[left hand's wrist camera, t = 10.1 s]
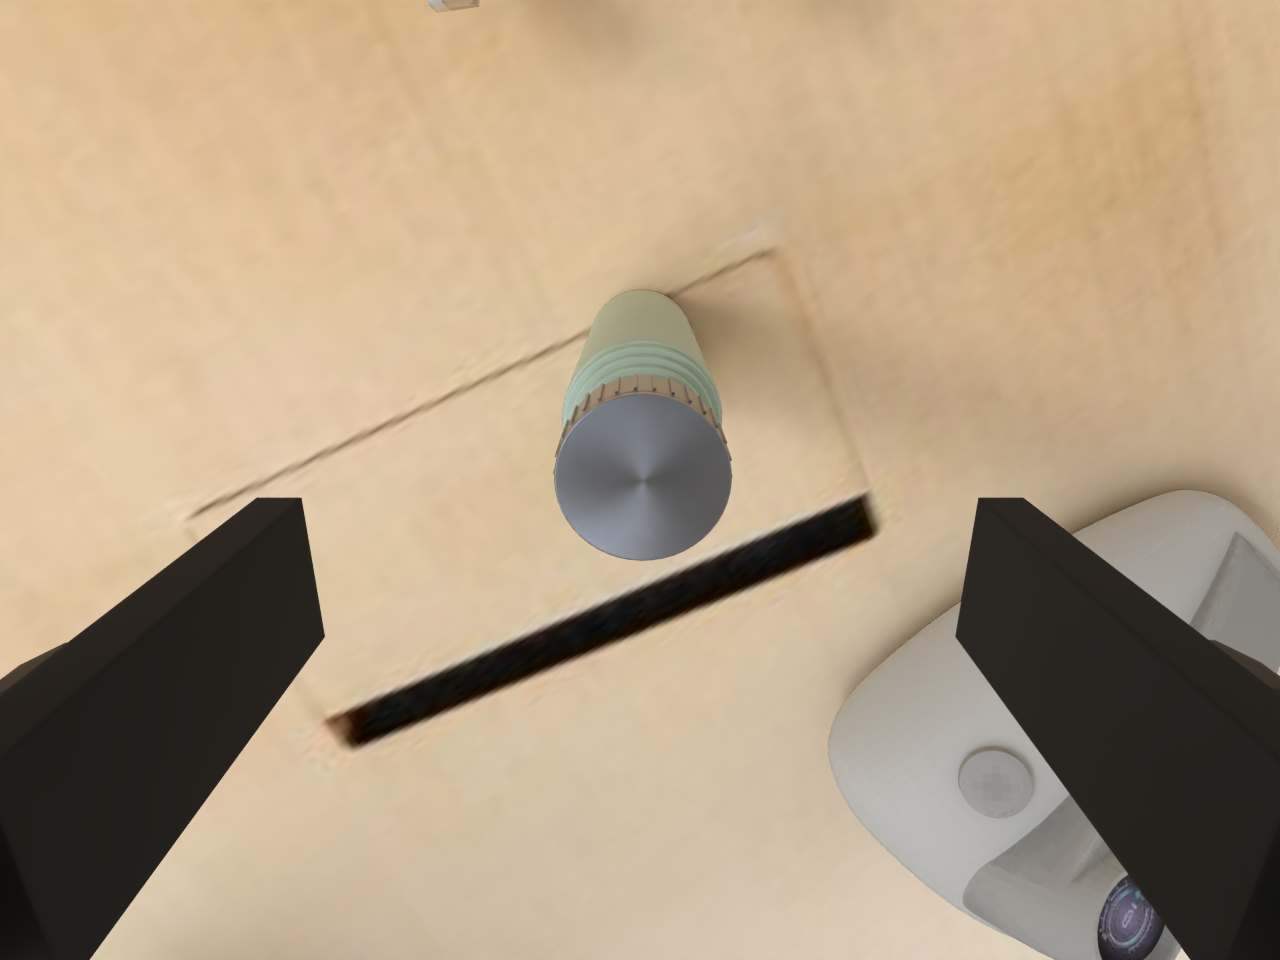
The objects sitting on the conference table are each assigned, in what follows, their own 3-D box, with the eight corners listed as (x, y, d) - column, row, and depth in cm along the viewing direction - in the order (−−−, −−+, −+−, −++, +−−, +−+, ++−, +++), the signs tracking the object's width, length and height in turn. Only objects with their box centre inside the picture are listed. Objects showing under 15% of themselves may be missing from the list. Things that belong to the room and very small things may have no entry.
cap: (559, 370, 18) (549, 389, 16) (730, 373, 18) (740, 394, 17) (561, 526, 20) (552, 561, 18) (719, 529, 20) (728, 564, 18)
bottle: (590, 288, 34) (539, 374, 17) (694, 290, 34) (750, 378, 17) (590, 390, 36) (544, 564, 18) (689, 392, 36) (736, 567, 18)
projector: (1202, 819, 44) (1455, 1095, 31) (816, 850, 45) (893, 1132, 31) (1273, 469, 37) (1651, 627, 23) (806, 513, 38) (902, 692, 24)
